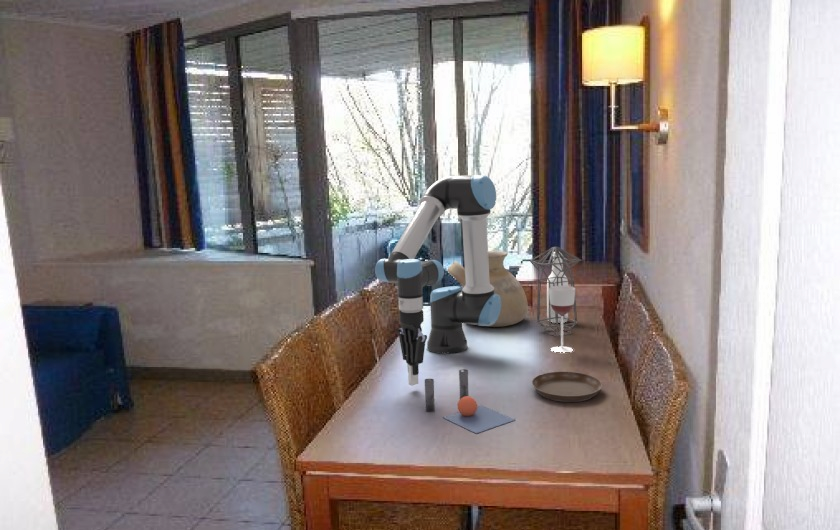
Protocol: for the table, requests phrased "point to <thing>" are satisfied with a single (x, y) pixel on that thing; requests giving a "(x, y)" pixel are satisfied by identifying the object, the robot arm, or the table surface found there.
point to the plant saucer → (566, 386)
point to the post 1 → (429, 395)
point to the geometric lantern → (557, 252)
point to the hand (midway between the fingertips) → (413, 383)
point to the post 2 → (463, 382)
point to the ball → (467, 406)
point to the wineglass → (562, 308)
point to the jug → (500, 289)
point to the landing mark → (479, 419)
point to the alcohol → (556, 271)
